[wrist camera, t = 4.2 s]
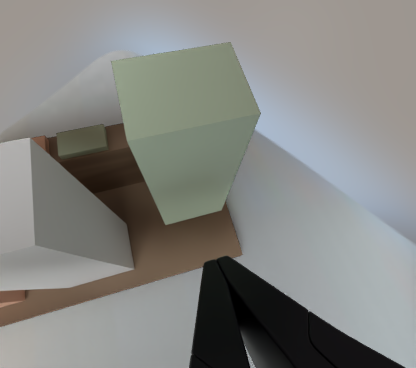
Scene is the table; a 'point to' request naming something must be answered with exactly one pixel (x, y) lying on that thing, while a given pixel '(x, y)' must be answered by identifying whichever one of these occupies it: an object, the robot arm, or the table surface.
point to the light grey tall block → (53, 225)
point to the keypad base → (134, 218)
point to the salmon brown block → (11, 297)
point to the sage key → (187, 125)
